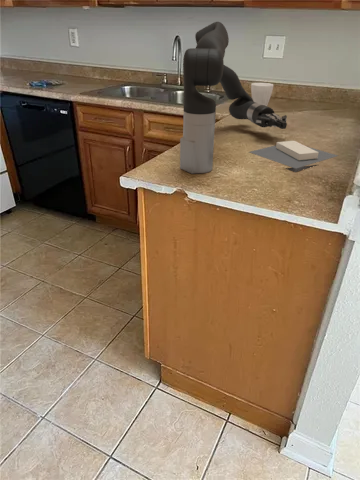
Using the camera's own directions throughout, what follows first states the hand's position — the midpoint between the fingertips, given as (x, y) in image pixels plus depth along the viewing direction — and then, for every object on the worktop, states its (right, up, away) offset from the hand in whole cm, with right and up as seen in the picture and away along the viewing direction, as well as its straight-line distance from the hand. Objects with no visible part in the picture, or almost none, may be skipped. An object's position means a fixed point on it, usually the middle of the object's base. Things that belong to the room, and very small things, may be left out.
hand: (284, 125), depth 132 cm
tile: (0, -6, +1) cm, 6 cm away
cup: (+3, +23, +56) cm, 60 cm away
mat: (+2, -12, -4) cm, 12 cm away
